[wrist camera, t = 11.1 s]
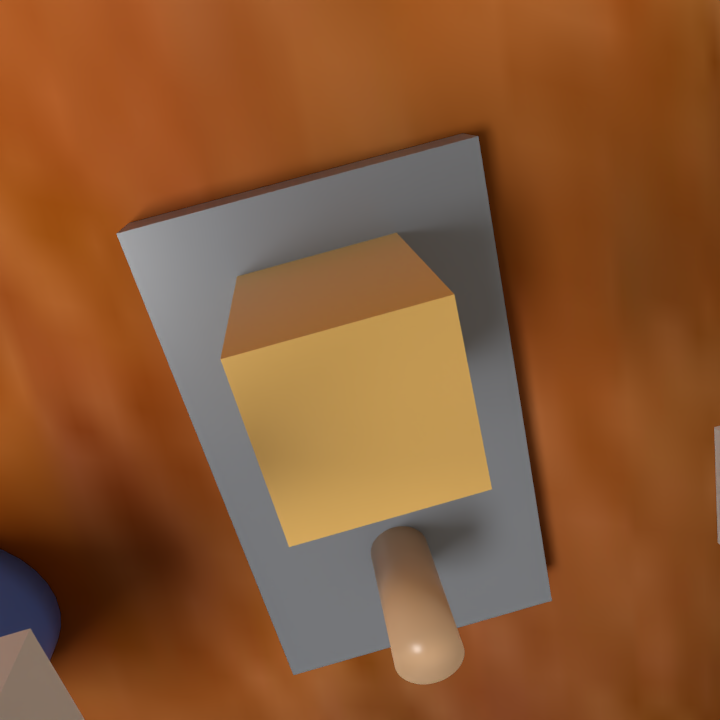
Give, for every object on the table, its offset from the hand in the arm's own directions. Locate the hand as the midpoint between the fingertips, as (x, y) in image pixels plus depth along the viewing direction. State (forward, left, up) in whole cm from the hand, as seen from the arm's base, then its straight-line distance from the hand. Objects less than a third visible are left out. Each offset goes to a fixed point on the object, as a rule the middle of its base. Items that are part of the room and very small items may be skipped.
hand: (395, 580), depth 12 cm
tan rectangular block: (0, 0, -13) cm, 13 cm away
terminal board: (0, -5, -15) cm, 16 cm away
